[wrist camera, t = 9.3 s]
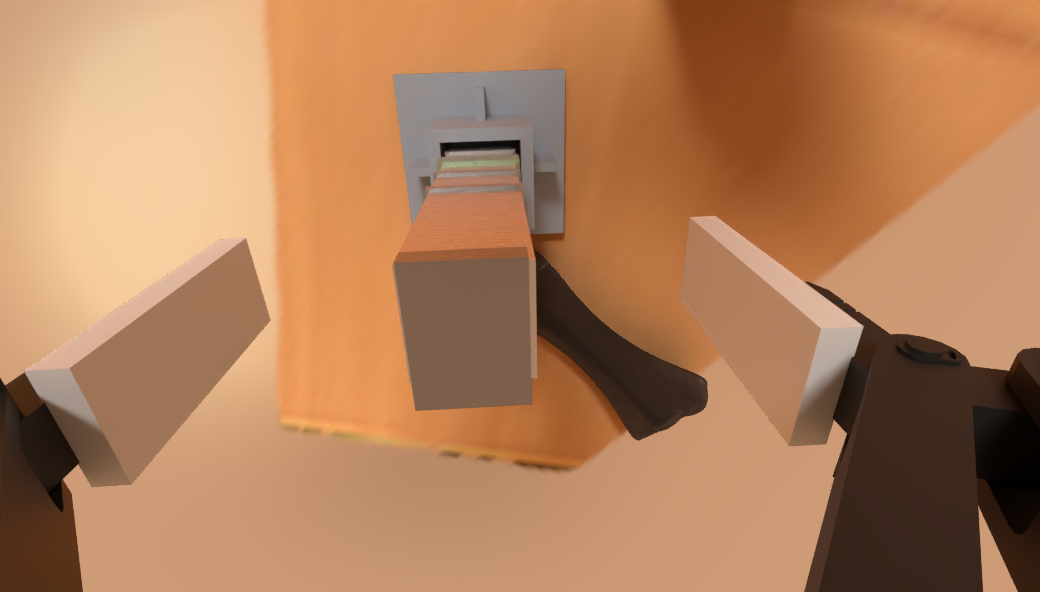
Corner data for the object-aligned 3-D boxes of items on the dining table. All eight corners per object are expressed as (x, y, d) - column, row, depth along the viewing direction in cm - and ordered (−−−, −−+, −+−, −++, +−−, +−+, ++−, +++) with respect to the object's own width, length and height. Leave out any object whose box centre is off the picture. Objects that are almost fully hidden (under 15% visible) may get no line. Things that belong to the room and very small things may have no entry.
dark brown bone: (679, 376, 66) (524, 241, 60) (733, 389, 56) (553, 228, 50) (634, 443, 64) (469, 311, 58) (682, 469, 54) (488, 312, 48)
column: (446, 141, 40) (374, 263, 16) (514, 139, 40) (546, 255, 16) (453, 213, 43) (399, 411, 19) (517, 210, 43) (547, 403, 19)
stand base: (395, 74, 47) (367, 77, 36) (563, 69, 47) (582, 71, 37) (415, 235, 54) (397, 276, 43) (561, 228, 54) (577, 268, 44)
